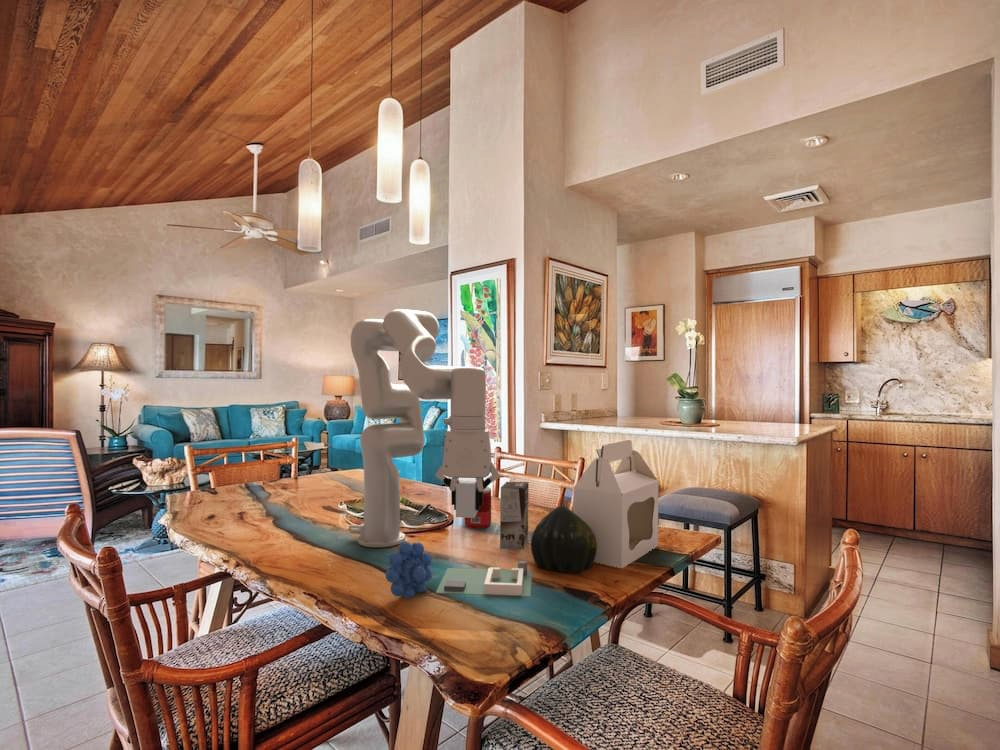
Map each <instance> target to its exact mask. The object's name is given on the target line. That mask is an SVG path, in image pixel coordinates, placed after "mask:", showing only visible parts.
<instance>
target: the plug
mask: <svg viewBox="0 0 1000 750" xmlns="http://www.w3.org/2000/svg"><path fill="white" fill-rule="evenodd" d="M477 488H478V487H477V482H476V478H459V481H458V482H457V483H456V510H455V518H464V519H465V518H475V516H476V514H477V512H478V510H476V491H477Z"/></svg>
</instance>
